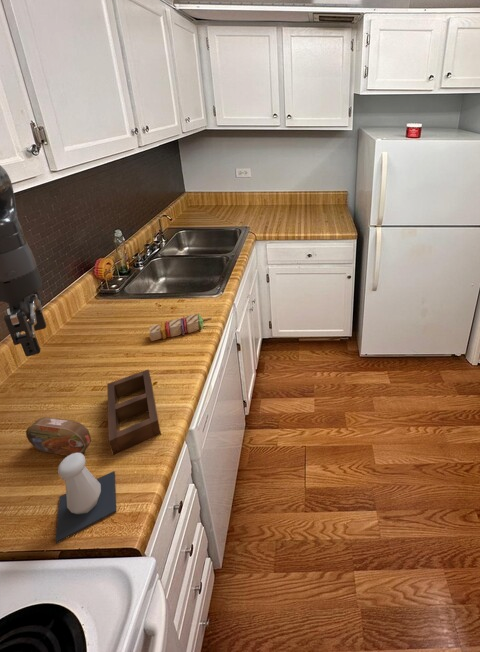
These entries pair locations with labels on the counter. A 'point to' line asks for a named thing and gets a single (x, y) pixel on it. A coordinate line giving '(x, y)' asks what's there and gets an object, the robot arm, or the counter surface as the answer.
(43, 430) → the tin
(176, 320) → the skewer
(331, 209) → the counter surface
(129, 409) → the rack
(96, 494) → the salt shaker
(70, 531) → the mat
